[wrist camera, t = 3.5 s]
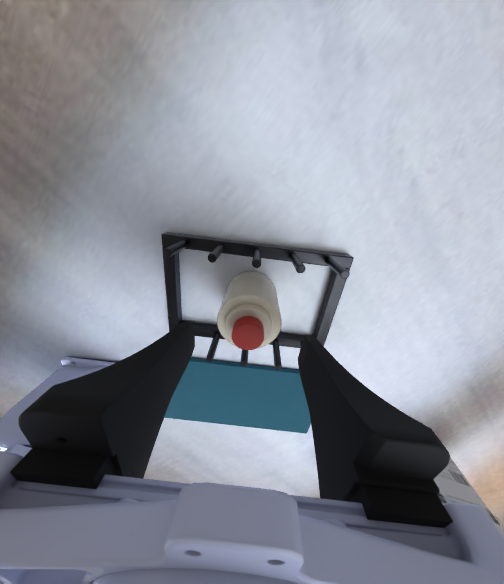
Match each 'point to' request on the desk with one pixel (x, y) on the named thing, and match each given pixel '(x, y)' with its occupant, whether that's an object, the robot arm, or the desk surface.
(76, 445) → the robot arm
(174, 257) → the drying rack
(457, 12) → the desk surface
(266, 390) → the mat
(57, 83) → the desk surface
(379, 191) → the desk surface
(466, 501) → the ink box
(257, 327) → the cream bottle
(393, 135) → the desk surface
